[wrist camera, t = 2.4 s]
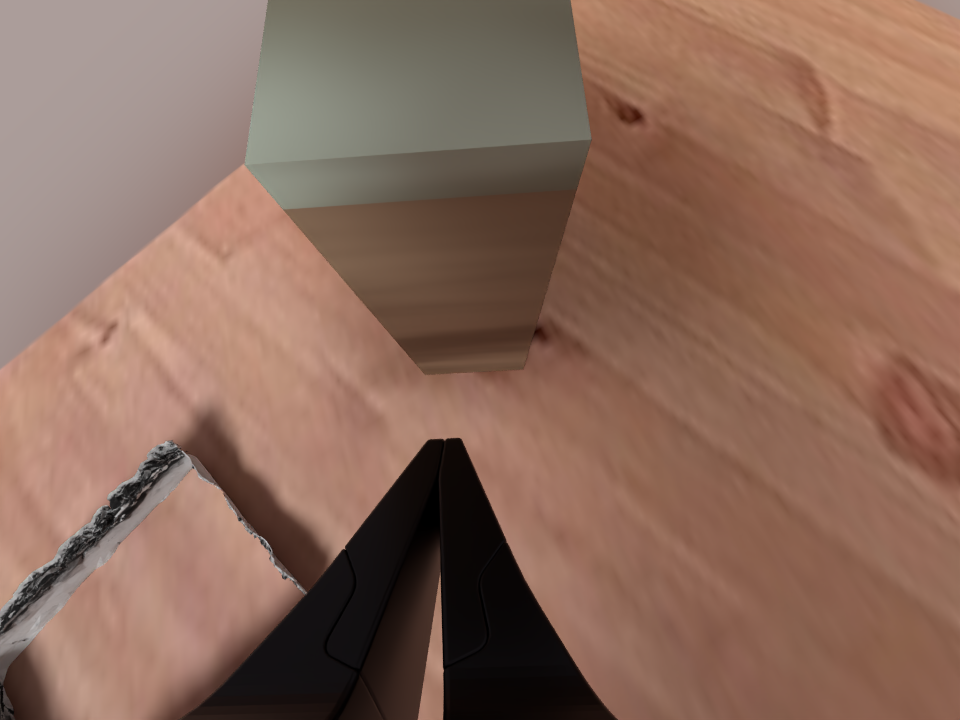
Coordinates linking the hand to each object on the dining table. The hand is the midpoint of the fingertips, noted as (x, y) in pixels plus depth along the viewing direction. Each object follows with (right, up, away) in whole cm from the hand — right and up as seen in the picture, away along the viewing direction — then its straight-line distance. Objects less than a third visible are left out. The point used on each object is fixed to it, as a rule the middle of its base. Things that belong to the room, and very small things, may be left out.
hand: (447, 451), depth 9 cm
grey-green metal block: (0, +4, +10) cm, 11 cm away
